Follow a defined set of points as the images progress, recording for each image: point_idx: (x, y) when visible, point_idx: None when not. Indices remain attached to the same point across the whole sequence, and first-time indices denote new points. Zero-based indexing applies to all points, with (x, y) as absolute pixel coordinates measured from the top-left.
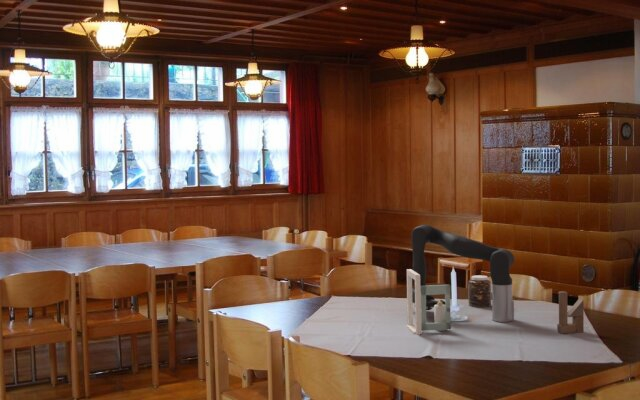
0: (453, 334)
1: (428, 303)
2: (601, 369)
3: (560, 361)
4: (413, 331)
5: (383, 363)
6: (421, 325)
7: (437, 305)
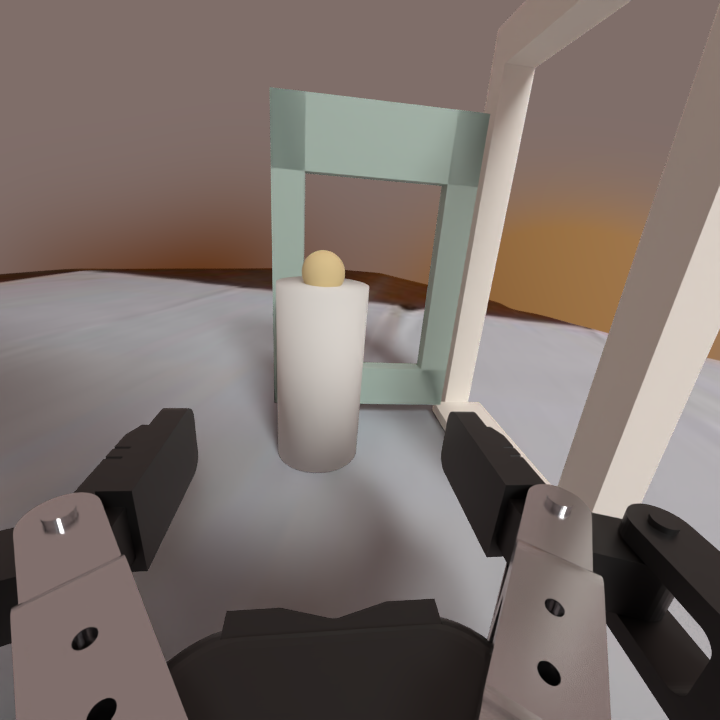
0: None
1: (397, 610)
2: (156, 269)
3: (179, 280)
4: (481, 407)
5: (490, 305)
6: (443, 379)
7: (342, 285)
